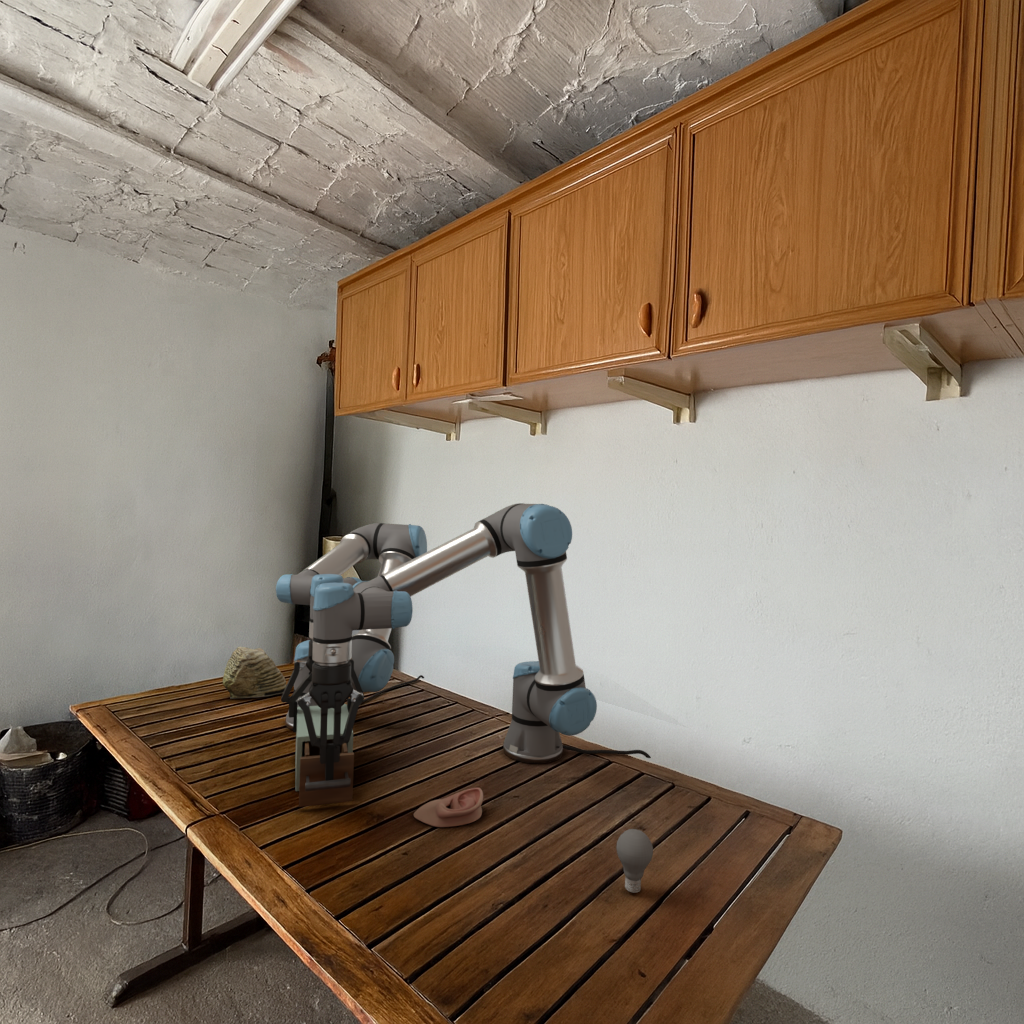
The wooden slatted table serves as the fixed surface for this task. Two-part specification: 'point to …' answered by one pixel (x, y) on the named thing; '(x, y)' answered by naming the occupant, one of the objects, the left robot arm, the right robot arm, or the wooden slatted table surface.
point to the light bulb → (634, 857)
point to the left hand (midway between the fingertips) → (321, 728)
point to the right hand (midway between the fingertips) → (329, 778)
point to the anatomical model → (452, 809)
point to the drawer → (313, 777)
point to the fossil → (252, 674)
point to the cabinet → (317, 732)
